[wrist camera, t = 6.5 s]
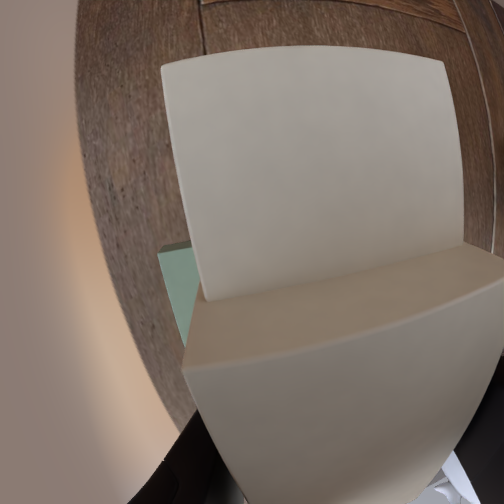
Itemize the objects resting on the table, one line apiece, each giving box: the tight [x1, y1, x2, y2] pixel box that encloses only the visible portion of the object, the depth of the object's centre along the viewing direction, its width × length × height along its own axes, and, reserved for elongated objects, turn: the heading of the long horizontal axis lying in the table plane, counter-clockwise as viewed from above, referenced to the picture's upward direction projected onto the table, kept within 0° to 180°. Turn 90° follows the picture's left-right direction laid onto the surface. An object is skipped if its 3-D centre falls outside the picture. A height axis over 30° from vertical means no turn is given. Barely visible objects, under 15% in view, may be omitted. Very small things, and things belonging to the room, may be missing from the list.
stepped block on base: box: [161, 46, 504, 504], centre depth 6 cm, size 14×6×5 cm, turn 10°
